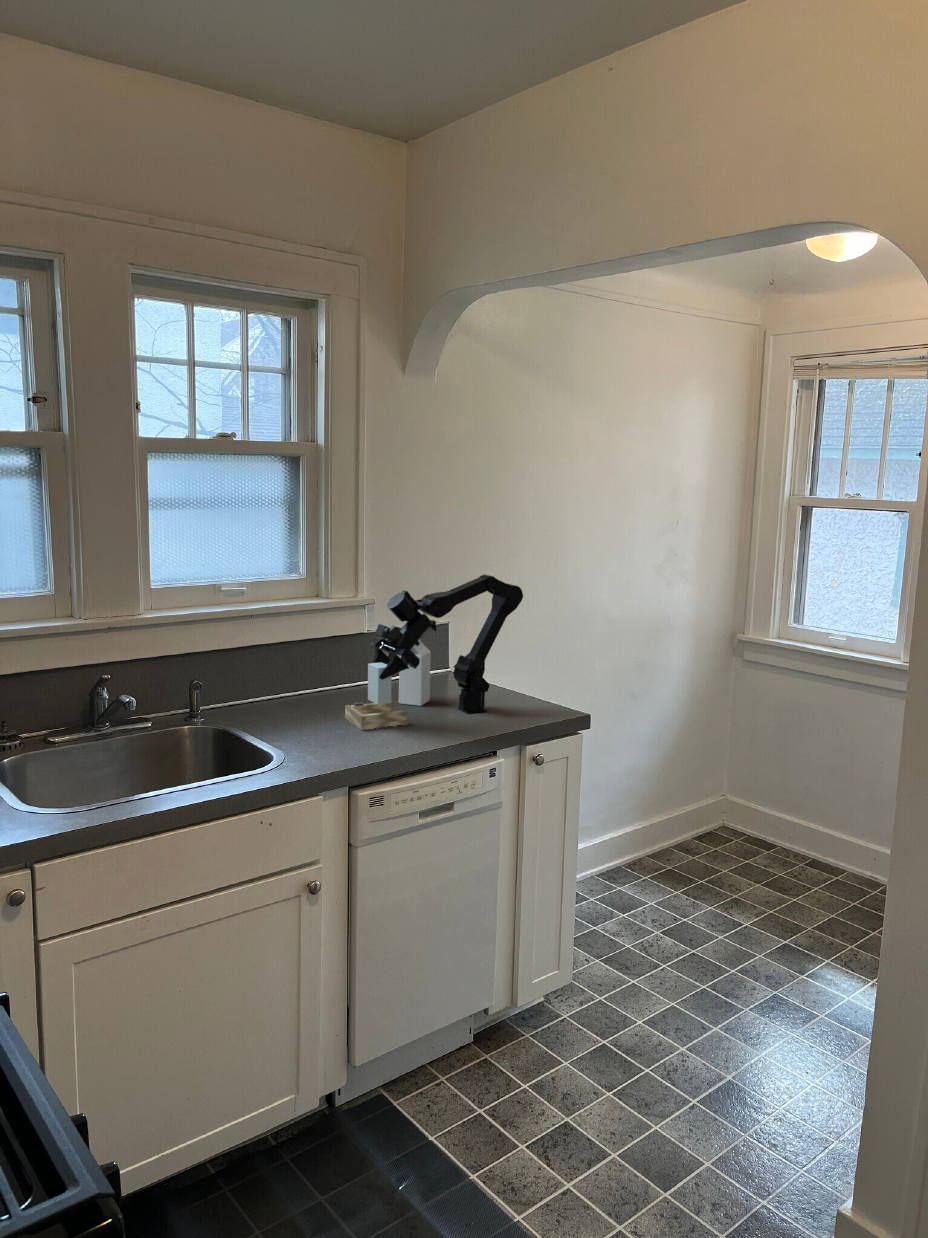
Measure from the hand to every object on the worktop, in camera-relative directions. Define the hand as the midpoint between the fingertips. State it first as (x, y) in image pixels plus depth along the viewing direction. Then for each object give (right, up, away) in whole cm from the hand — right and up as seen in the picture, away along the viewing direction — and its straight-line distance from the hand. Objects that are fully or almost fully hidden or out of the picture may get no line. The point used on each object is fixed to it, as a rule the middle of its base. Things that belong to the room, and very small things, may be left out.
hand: (375, 676), depth 250 cm
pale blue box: (+1, -7, +2) cm, 7 cm away
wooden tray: (0, -13, +5) cm, 13 cm away
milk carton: (+9, -10, +26) cm, 29 cm away
